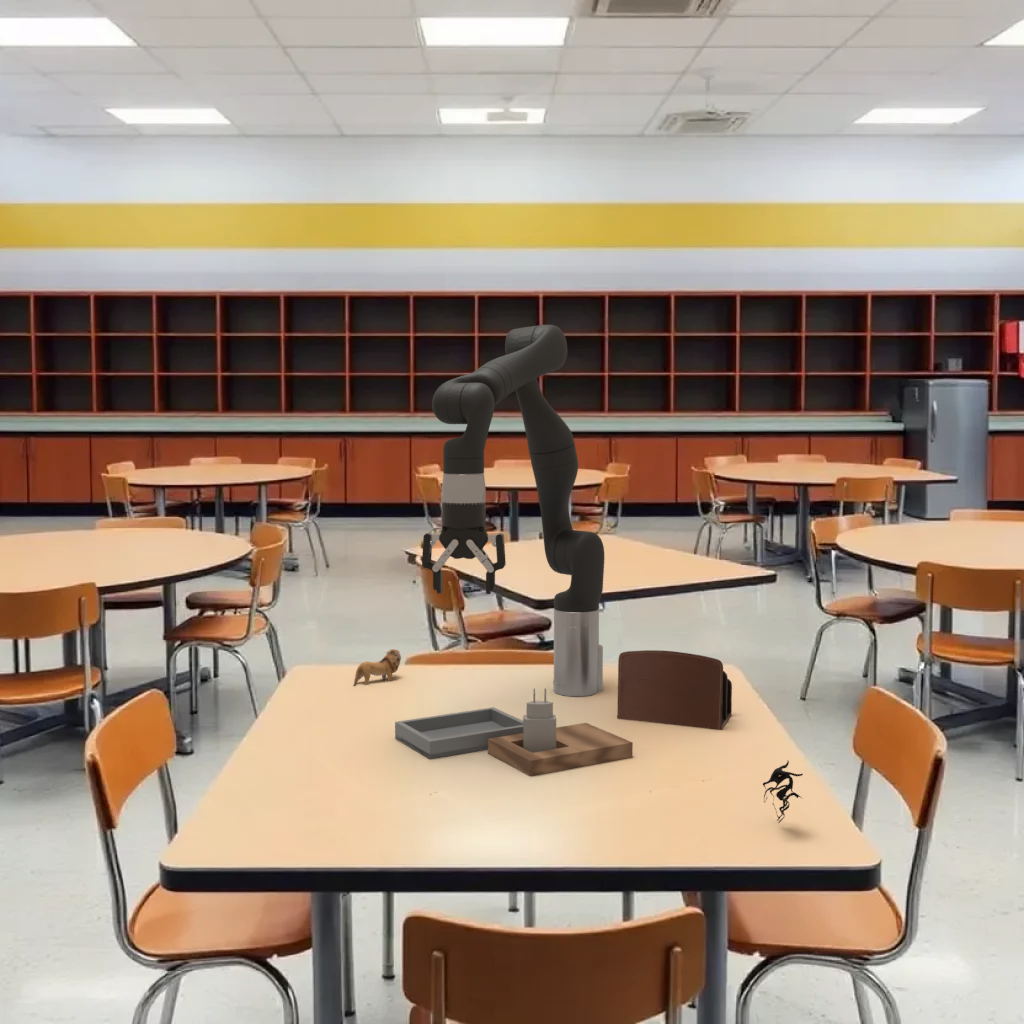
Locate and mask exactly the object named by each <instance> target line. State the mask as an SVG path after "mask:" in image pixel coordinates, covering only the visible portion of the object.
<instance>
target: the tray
mask: <svg viewBox="0 0 1024 1024" xmlns="http://www.w3.org/2000/svg"><path fill="white" fill-rule="evenodd" d="M394 727H395V728H394V729H395V730H394V732H395V733H394V735H395V736H394V738H395V739H396V740H397V741H399V742H401V743H403V744H404V745H405V746H407V747H409V748H411V749H412V750H414V751H415V752H417V753H418V754H421V755H422V756H424V757H425V758H426V759H429V760H432V759H433V760H434V759H439V758H444V757H445V758H446V757H450V756H457V755H461V754H469V753H473V752H474V753H475V752H479V751H486V750H487V751H488V739H490V738H496V737H503V736H509V735H515V734H521V733H523V719H520V718H517V717H516V716H514V715H512V714H509V713H507V712H505V711H503V710H500V709H498V708H496V707H494V706H493V707H486V708H479V709H472V710H467V711H460V712H452V713H447V714H446V713H445V714H439V715H433V716H426V717H425V716H424V717H418V718H411V719H406V720H400V721H399V720H398V721H394Z"/></svg>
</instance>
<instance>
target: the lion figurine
mask: <svg viewBox="0 0 1024 1024" xmlns="http://www.w3.org/2000/svg"><path fill="white" fill-rule="evenodd" d="M401 659H402V655H401V653H400V651H399V650H398V649H389V650H388V651H387V652H386V654H385V656H384V657H383V658H382V659H381V660H379V661H373V662H372V661H364V662H361V663H360V664H359V665H358V666H357V668H356V672H355V675H354V680H353V682H354V683H353V686H352V687H356V686H357V684H358V682H359V681H360V680H361V679H362V678H363V677H364V684H365V686H369V685H370V682H369V681H370V678H371V675H373V676H375V677H378V676H379V677H380V676H381V679H382V681H386V680H387V682H388V681H390V682H392V681H393V674H394V673H396V672H397V671H398V669H399V666H400V664H401ZM386 678H387V679H386ZM385 679H386V680H385Z"/></svg>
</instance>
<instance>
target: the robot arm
mask: <svg viewBox="0 0 1024 1024" xmlns="http://www.w3.org/2000/svg"><path fill="white" fill-rule="evenodd" d="M504 343H505V344H504V349H505V350H504V351H505V354H504V355H502V356H499V357H497V358H494V359H491V360H490V361H487V362H485V363H484V364H483V365H482V366H479V367H478V368H477V369H476V370H474V371H473V372H471V373H468V374H463V375H461V376H458V377H455V378H452V379H450V380H447V381H445V382H444V383H442V384H441V385H439V386H438V388H437V389H436V391H435V393H434V394H433V396H432V401H431V406H432V407H431V408H432V412H433V415H434V416H435V417H436V419H437V420H439V421H440V422H441V423H444V424H446V425H447V424H448V425H466V428H465V430H464V432H463V434H462V435H461V436H459V437H455V438H450V439H448V440H446V441H444V444H443V450H442V451H443V453H442V464H443V467H442V469H443V470H442V472H443V474H442V484H441V531H440V533H439V534H438V533H431V532H426V533H424V535H423V539H422V540H423V541H422V555H421V556H422V559H421V560H422V561H421V566H422V568H423V569H427V570H430V571H431V572H432V588H433V591H436V594H438V595H439V594H442V593H443V587H444V586H443V585H444V583H443V577H444V576H443V572H444V571H443V570H442V568H443V566H444V565H445V564H446V562H447V561H448V560H449V558H450V557H451V558H452V559H454V560H455V559H456V560H459V559H466V560H473V559H474V558H476V559H477V560H478V562H480V563H481V565H482V566H483V568H485V569H486V573H485V594H486V595H491V594H492V592H494V590H495V588H496V571H499V570H502V569H504V568H505V567H506V564H507V563H506V549H505V534H504V533H502V532H498V533H497V534H488V531H487V529H486V528H487V527H486V520H487V519H486V509H487V507H486V505H487V504H486V499H487V497H486V496H487V495H486V492H487V491H486V480H485V448H486V447H485V446H486V443H487V440H488V434H489V430H490V427H491V423H492V420H493V415H494V411H495V406H497V405H498V404H500V402H502V401H503V400H505V398H508V396H510V395H511V394H512V393H513V392H515V394H516V397H517V401H518V405H519V408H520V412H521V417H522V422H523V426H524V431H525V436H526V440H527V441H526V442H527V447H528V453H529V459H530V463H531V468H532V473H533V475H534V476H533V477H534V481H535V486H536V490H537V491H536V492H537V497H538V502H539V503H538V504H539V508H540V509H539V510H540V516H541V523H542V524H541V525H542V537H543V546H544V547H543V548H544V553H545V558H546V561H547V563H548V565H549V567H550V569H552V571H553V572H554V573H557V574H561V575H566V576H571V577H570V578H571V579H570V585H569V587H568V589H566V590H564V591H560V592H559V593H556V594H555V595H554V597H553V693H556V694H557V695H561V696H565V697H566V696H567V697H588V696H593V695H596V694H598V693H600V692H603V690H604V689H603V688H604V687H603V683H604V682H603V677H604V675H603V674H604V673H603V672H604V671H603V670H604V668H603V667H604V664H603V663H604V661H603V660H604V658H603V657H604V647H603V645H602V644H600V601H601V598H602V594H603V591H604V590H603V589H604V573H605V546H604V543H603V541H602V539H601V537H600V535H598V534H597V533H595V532H593V531H586V530H578V529H576V530H575V529H573V525H572V522H571V516H570V510H569V504H570V503H569V502H570V497H571V493H572V491H573V488H574V486H575V482H576V479H577V475H578V471H579V459H578V455H577V449H576V443H575V439H574V436H573V433H572V431H571V428H570V427H569V426H568V424H567V423H566V422H565V420H564V419H562V417H561V416H560V415H559V414H558V412H556V410H555V409H554V408H553V407H552V406H551V405H550V403H549V402H548V401H547V400H546V398H545V396H544V394H543V393H542V392H543V391H542V390H541V387H540V385H539V382H538V378H541V377H542V376H544V375H546V374H549V373H552V372H556V371H559V369H561V368H563V366H564V365H565V362H566V360H567V357H568V343H567V339H566V336H565V334H564V332H563V330H561V328H560V327H559V326H556V325H553V324H539V325H533V326H526V327H518V328H514V329H511V330H509V331H508V333H507V335H506V337H505V342H504ZM437 541H439V543H440V544H441V545H442V547H443V548H444V551H443V552H442V553H441V555H440V556H439V557H438V559H437V560H436V561H432V556H433V555H432V554H433V552H432V551H433V547H434V546H435V545H436V544H437ZM488 542H490V543H491V546H492V547H494V548H495V551H496V562H493V561H492V559H491V558H490V556H489V555H488V554H487V552H486V551H485V550H484V548H485V546H486V544H487V543H488Z"/></svg>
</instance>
